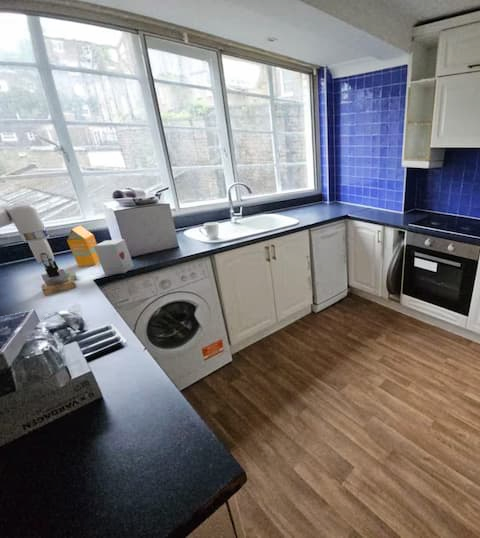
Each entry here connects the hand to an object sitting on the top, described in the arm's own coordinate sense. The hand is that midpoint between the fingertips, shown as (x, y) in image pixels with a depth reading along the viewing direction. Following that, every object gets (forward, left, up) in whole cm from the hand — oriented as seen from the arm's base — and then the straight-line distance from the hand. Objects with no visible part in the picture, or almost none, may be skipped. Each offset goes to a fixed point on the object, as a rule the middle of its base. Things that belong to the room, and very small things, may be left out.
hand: (54, 273), depth 126 cm
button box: (+1, +11, -7) cm, 13 cm away
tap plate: (0, 0, -7) cm, 7 cm away
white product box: (+22, +5, -8) cm, 24 cm away
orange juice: (+13, +31, -8) cm, 34 cm away
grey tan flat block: (0, 0, -4) cm, 4 cm away
